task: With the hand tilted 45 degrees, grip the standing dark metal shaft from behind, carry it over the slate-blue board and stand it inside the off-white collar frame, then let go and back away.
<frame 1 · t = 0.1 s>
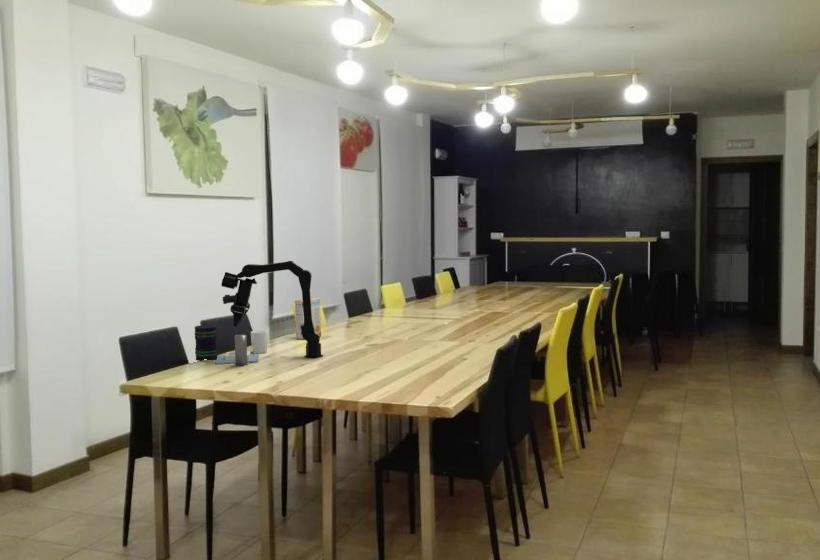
hand: (236, 325, 333), 15 cm above the table, tool pointing down, fingers open, 9 cm apart
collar: (237, 359, 332), on the table
shaft: (241, 365, 319), on the table
storage jar: (206, 359, 335), on the table
cracker box: (308, 338, 395), on the table
white cup: (259, 352, 351), on the table
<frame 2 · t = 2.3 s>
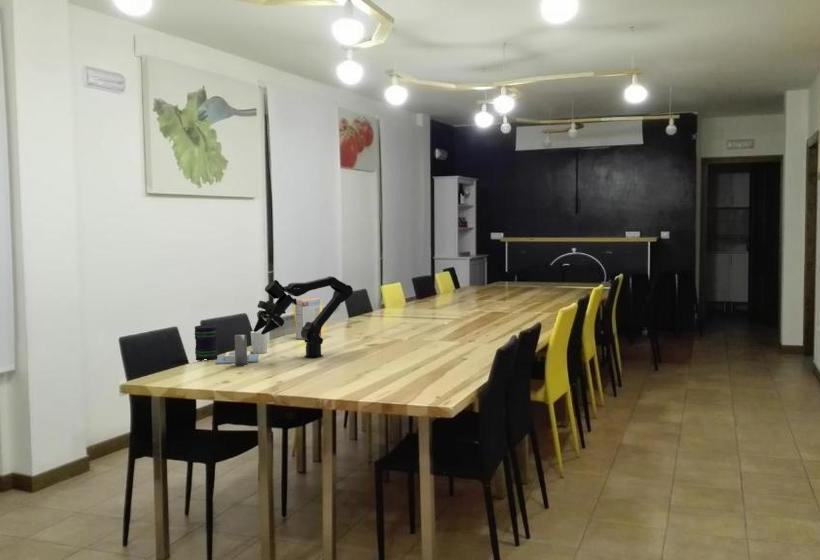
hand: (258, 332, 322), 13 cm above the table, tool tilted 45°, fingers open, 9 cm apart
nothing on the table moved.
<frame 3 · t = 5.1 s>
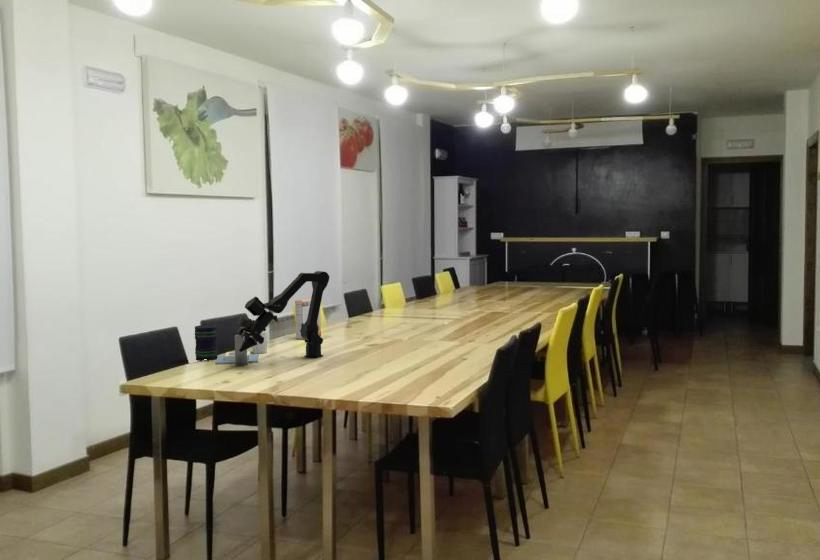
hand: (237, 350, 318), 7 cm above the table, tool tilted 45°, fingers closed on shaft, 5 cm apart
shaft: (241, 365, 319), on the table, touching gripper
everything else where it was.
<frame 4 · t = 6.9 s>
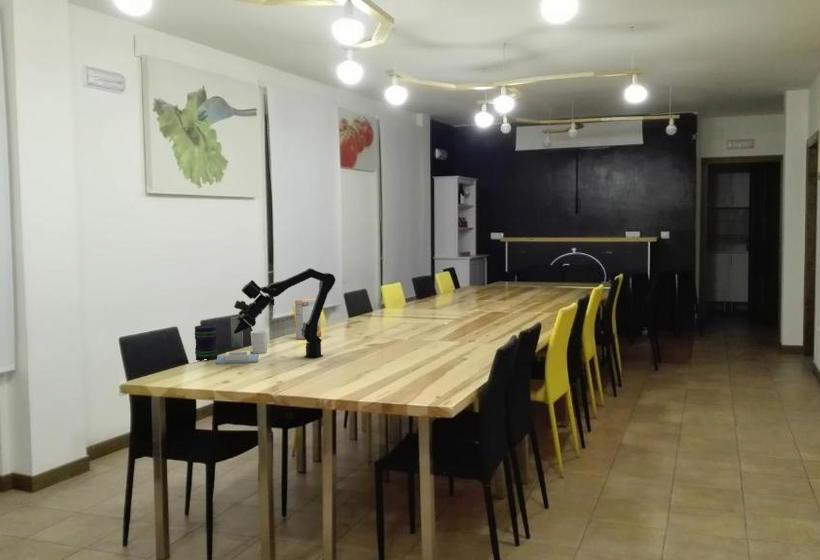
hand: (233, 332, 325), 13 cm above the table, tool tilted 45°, fingers closed on shaft, 5 cm apart
shaft: (237, 346, 326), point 7 cm above the table, touching gripper
everything else where it was.
when the fingers open (9 cm above the table, at t = 8.8 s): shaft drops 1 cm, resting on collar.
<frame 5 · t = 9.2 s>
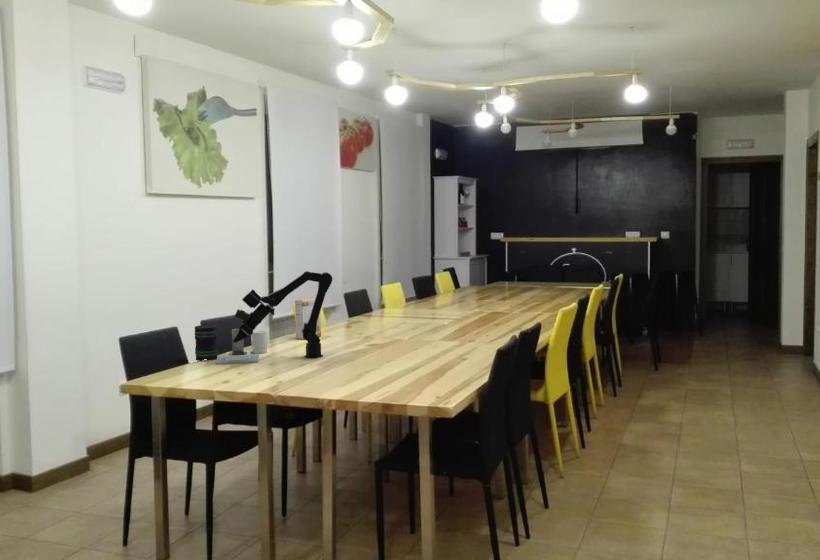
hand: (234, 340, 331), 9 cm above the table, tool tilted 45°, fingers open, 9 cm apart
shaft: (238, 358, 332), point 1 cm above the table, touching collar
everything else where it was.
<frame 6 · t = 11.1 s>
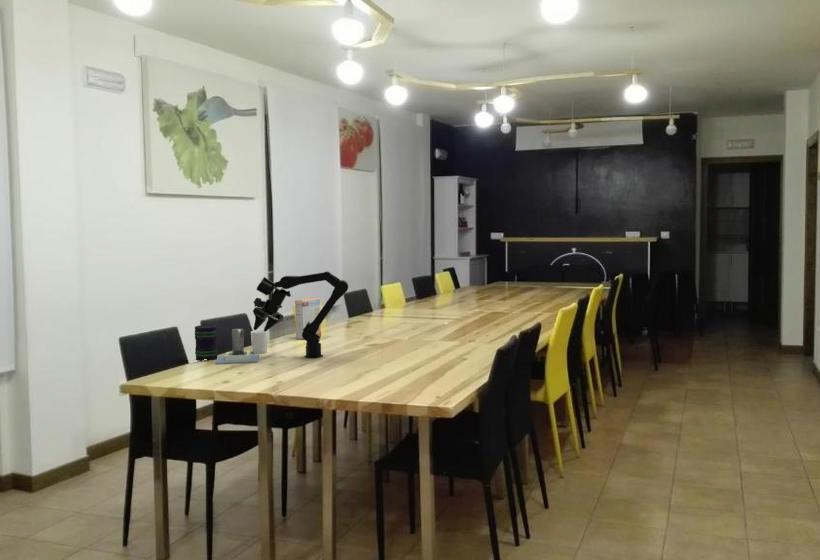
hand: (259, 330, 336), 13 cm above the table, tool tilted 30°, fingers open, 9 cm apart
nothing on the table moved.
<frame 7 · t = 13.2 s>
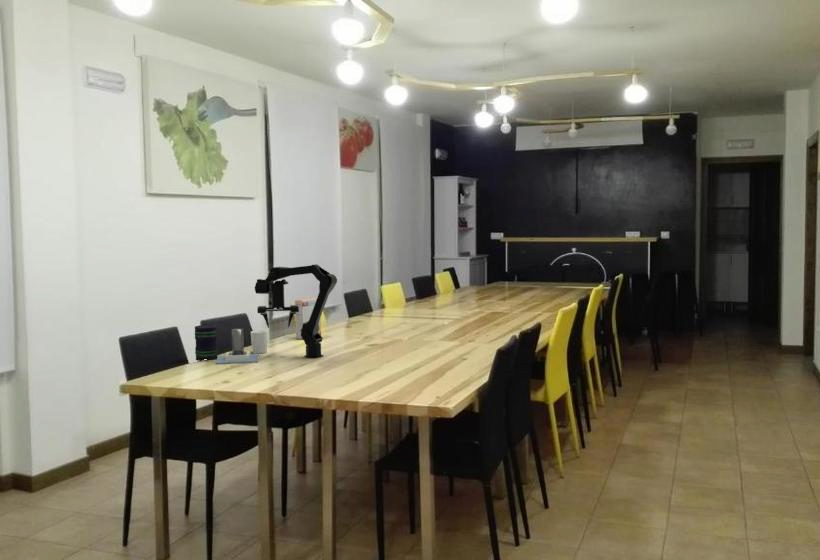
hand: (278, 327, 341), 13 cm above the table, tool pointing down, fingers open, 9 cm apart
nothing on the table moved.
at the end: shaft inside the target area on the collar (0.1 cm from its centre), point 0.8 cm above the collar's base; shaft tilted 1°; the gripper is holding nothing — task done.
